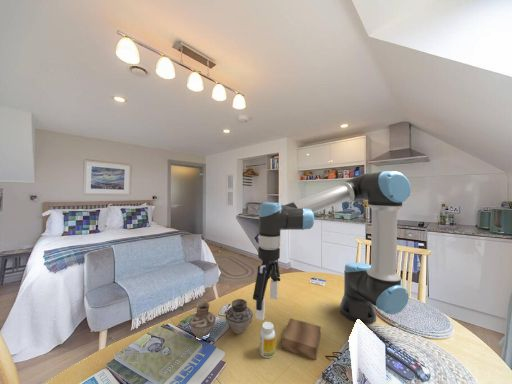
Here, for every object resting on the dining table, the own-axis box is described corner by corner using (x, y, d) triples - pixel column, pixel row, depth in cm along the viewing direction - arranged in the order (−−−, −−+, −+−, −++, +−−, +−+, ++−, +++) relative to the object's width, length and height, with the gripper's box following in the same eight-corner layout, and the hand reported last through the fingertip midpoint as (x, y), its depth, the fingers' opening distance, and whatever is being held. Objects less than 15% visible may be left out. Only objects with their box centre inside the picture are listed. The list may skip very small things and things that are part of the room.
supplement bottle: (256, 352, 71) (256, 325, 71) (266, 344, 75) (266, 318, 75) (268, 361, 67) (268, 332, 67) (278, 352, 71) (278, 325, 71)
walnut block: (320, 336, 79) (320, 326, 79) (316, 359, 68) (316, 348, 68) (290, 327, 84) (290, 318, 84) (281, 348, 73) (281, 337, 73)
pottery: (189, 329, 82) (189, 299, 82) (248, 318, 90) (248, 291, 90) (188, 350, 72) (189, 316, 72) (256, 335, 79) (256, 305, 79)
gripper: (270, 238, 84) (269, 289, 84) (242, 255, 61) (241, 325, 61) (288, 240, 81) (287, 294, 81) (266, 259, 58) (264, 333, 58)
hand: (267, 307), depth 71 cm, fingers open, 13 cm apart
